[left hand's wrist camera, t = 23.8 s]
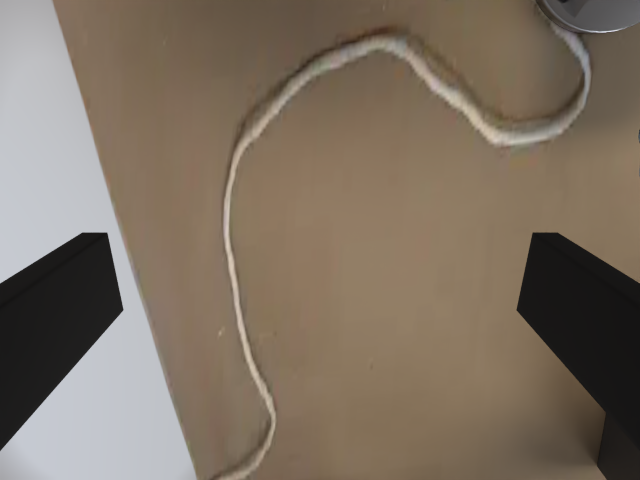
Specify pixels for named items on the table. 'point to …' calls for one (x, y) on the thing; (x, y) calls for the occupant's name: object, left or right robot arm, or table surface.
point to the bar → (618, 454)
